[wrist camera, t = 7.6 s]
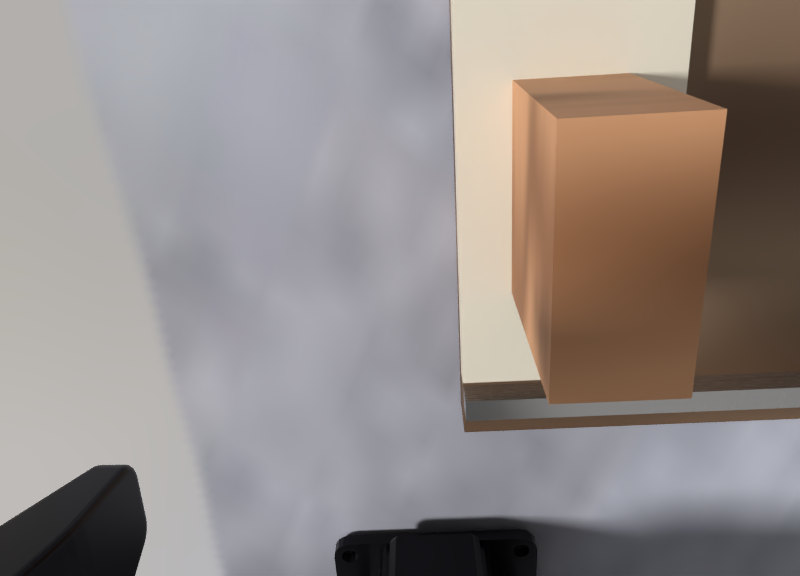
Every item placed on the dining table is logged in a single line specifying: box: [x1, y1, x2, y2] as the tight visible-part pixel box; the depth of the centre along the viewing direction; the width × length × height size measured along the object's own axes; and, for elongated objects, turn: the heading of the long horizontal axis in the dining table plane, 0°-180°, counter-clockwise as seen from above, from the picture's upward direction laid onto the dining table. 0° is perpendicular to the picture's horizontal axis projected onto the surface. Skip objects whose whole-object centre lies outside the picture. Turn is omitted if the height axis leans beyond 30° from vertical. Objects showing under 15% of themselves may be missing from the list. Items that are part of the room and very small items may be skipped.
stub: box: [451, 0, 727, 404], centre depth 14 cm, size 10×5×6 cm, turn 4°
